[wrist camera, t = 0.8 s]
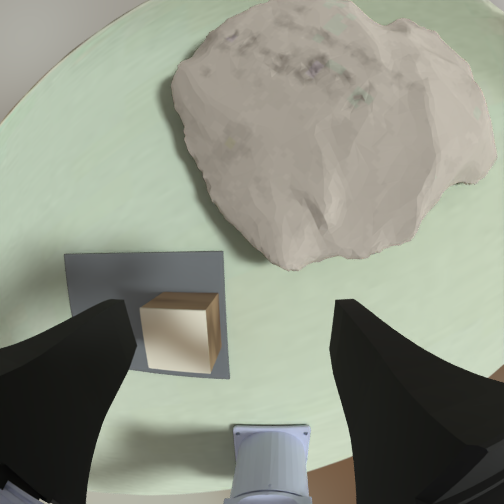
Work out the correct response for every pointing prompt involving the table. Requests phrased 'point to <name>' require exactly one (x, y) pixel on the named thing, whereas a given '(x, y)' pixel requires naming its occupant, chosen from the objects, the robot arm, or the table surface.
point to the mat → (148, 290)
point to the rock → (329, 127)
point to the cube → (182, 331)
